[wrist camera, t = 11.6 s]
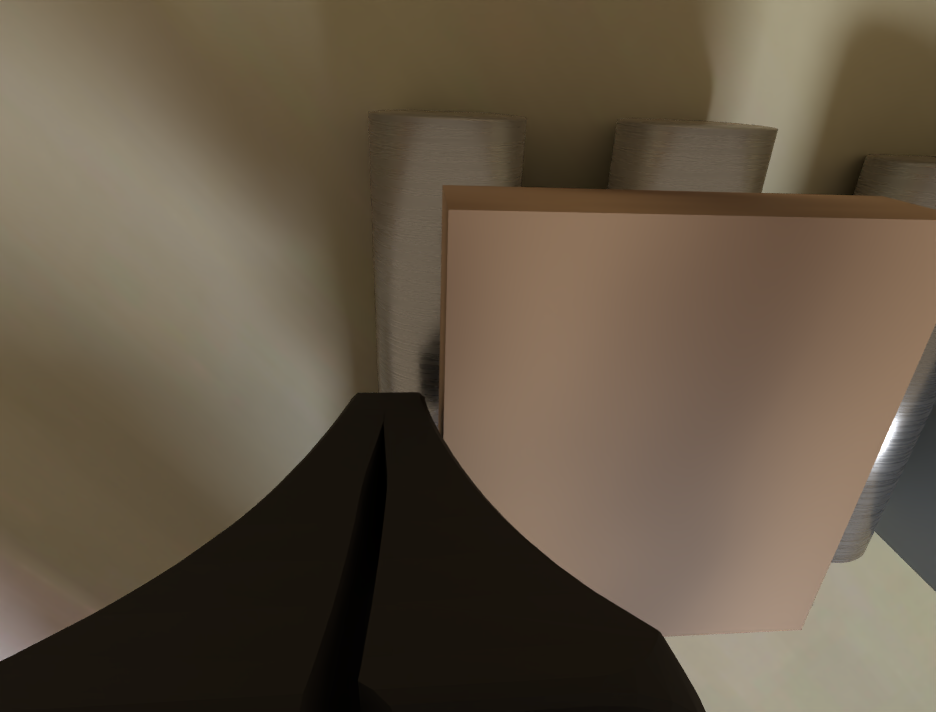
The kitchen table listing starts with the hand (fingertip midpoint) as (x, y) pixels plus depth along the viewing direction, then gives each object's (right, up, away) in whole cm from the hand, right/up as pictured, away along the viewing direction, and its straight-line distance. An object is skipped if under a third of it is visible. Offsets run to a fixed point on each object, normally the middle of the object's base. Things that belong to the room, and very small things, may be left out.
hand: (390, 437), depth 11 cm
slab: (+5, 0, +1) cm, 5 cm away
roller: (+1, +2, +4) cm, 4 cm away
